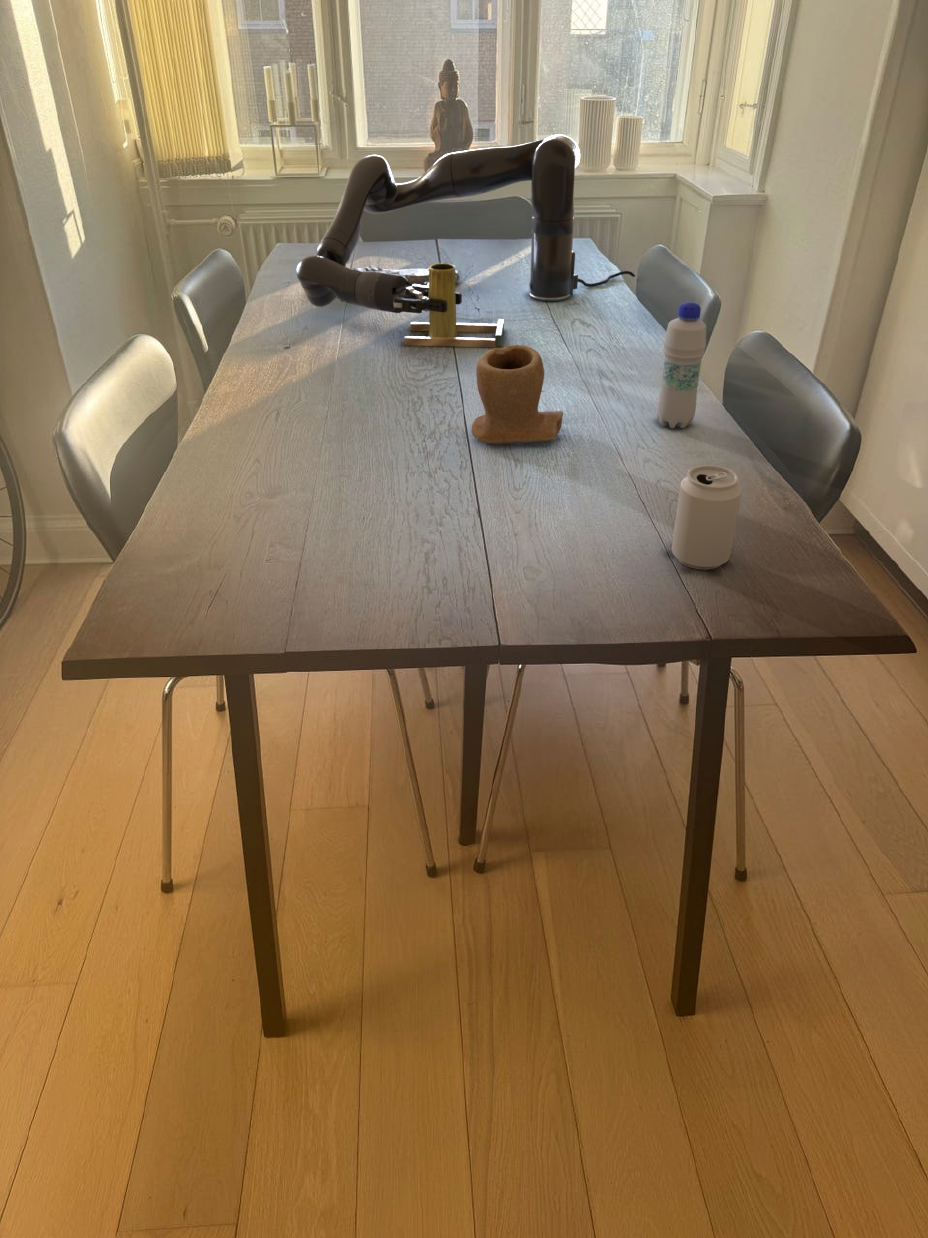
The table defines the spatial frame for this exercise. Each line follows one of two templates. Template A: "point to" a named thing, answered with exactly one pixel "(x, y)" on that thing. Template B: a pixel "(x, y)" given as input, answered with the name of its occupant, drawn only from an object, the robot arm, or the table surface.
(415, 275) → the long grey stone
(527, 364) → the clay pipe
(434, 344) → the u-shaped frame
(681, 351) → the bottle
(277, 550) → the table surface
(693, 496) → the can
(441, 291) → the vase
